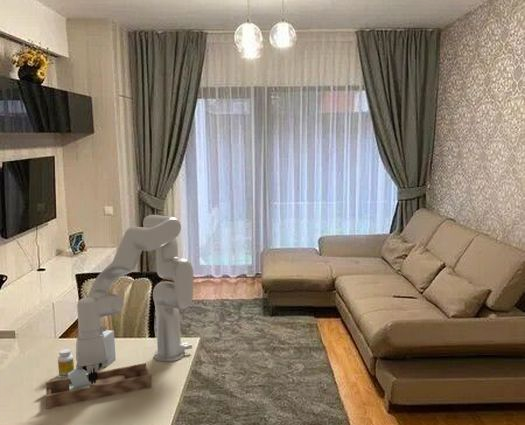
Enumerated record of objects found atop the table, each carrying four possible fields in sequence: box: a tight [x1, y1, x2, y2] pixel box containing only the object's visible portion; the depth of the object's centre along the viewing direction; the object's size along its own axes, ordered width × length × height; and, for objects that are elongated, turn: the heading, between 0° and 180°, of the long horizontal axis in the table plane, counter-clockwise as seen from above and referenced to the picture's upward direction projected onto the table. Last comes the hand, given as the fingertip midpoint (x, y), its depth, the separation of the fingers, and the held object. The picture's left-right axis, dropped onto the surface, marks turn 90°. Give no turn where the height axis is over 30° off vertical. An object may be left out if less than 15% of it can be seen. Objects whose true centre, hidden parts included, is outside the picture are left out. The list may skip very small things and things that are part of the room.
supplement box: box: [91, 329, 117, 368], centre depth 194 cm, size 7×7×13 cm
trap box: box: [45, 362, 153, 410], centre depth 172 cm, size 35×11×5 cm, turn 114°
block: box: [68, 368, 91, 388], centre depth 168 cm, size 5×5×6 cm
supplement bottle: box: [57, 348, 75, 379], centre depth 184 cm, size 5×5×10 cm
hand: (93, 381), depth 171 cm, fingers closed
